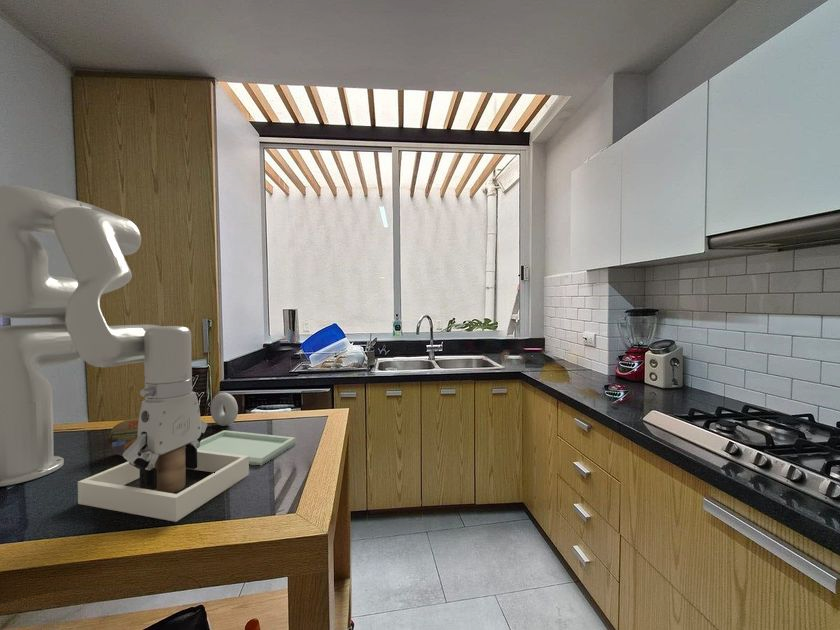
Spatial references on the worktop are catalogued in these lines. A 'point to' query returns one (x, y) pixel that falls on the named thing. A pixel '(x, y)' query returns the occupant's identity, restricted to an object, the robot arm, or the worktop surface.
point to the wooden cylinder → (171, 471)
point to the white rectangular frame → (162, 505)
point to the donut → (230, 409)
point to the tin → (123, 436)
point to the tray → (248, 445)
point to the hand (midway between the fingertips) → (170, 477)
